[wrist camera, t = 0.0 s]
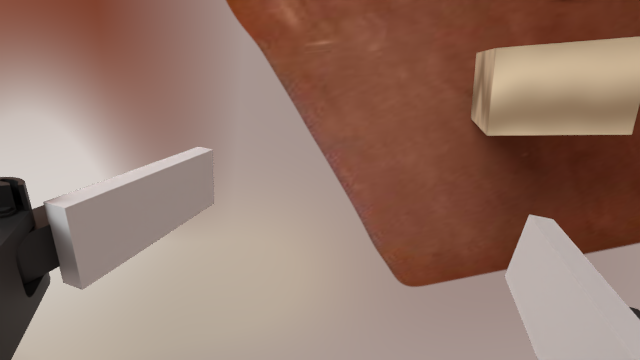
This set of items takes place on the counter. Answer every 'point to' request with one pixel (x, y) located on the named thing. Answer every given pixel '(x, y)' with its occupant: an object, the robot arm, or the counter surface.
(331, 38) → the counter surface
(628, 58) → the beech block
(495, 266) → the counter surface
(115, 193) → the robot arm
